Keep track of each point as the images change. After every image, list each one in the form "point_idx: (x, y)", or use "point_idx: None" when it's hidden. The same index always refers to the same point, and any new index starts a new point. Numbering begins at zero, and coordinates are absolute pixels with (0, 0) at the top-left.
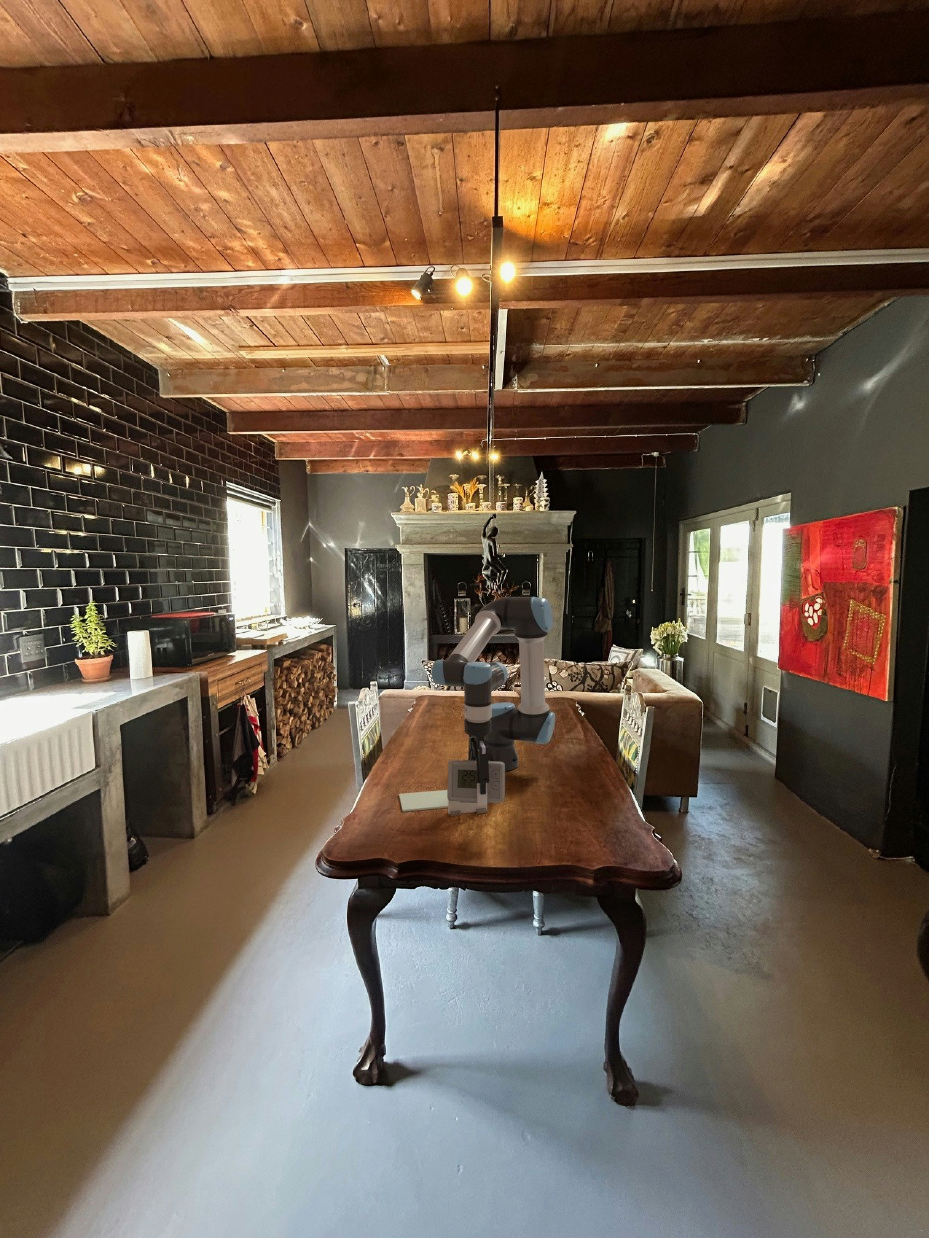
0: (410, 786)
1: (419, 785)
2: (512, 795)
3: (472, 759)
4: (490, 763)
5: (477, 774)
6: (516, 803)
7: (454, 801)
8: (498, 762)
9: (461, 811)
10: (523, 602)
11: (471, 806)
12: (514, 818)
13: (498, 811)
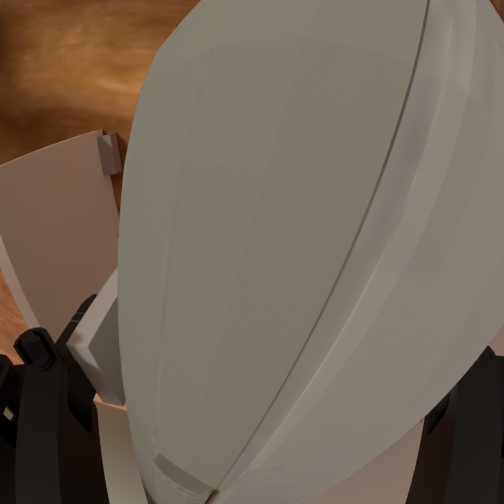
0: (13, 323)
1: (3, 305)
2: (13, 43)
3: (100, 492)
4: (338, 480)
5: (419, 457)
6: (61, 22)
7: (107, 273)
8: (450, 333)
9: (118, 228)
10: None
11: (102, 197)
12: (174, 26)
13: (108, 85)
